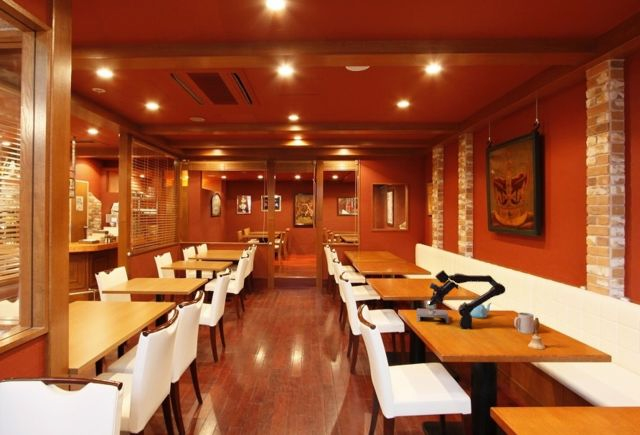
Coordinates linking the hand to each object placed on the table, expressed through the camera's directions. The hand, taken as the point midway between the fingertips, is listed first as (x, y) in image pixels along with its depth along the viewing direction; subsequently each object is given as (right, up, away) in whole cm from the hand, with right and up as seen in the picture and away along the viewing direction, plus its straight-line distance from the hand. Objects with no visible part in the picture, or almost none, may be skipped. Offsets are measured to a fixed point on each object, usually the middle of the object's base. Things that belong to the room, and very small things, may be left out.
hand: (428, 304), depth 248 cm
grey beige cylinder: (+1, -7, 0) cm, 7 cm away
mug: (+54, -14, -14) cm, 58 cm away
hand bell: (+48, -14, -40) cm, 64 cm away
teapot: (+41, -14, +23) cm, 49 cm away
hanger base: (+6, -13, +13) cm, 20 cm away
